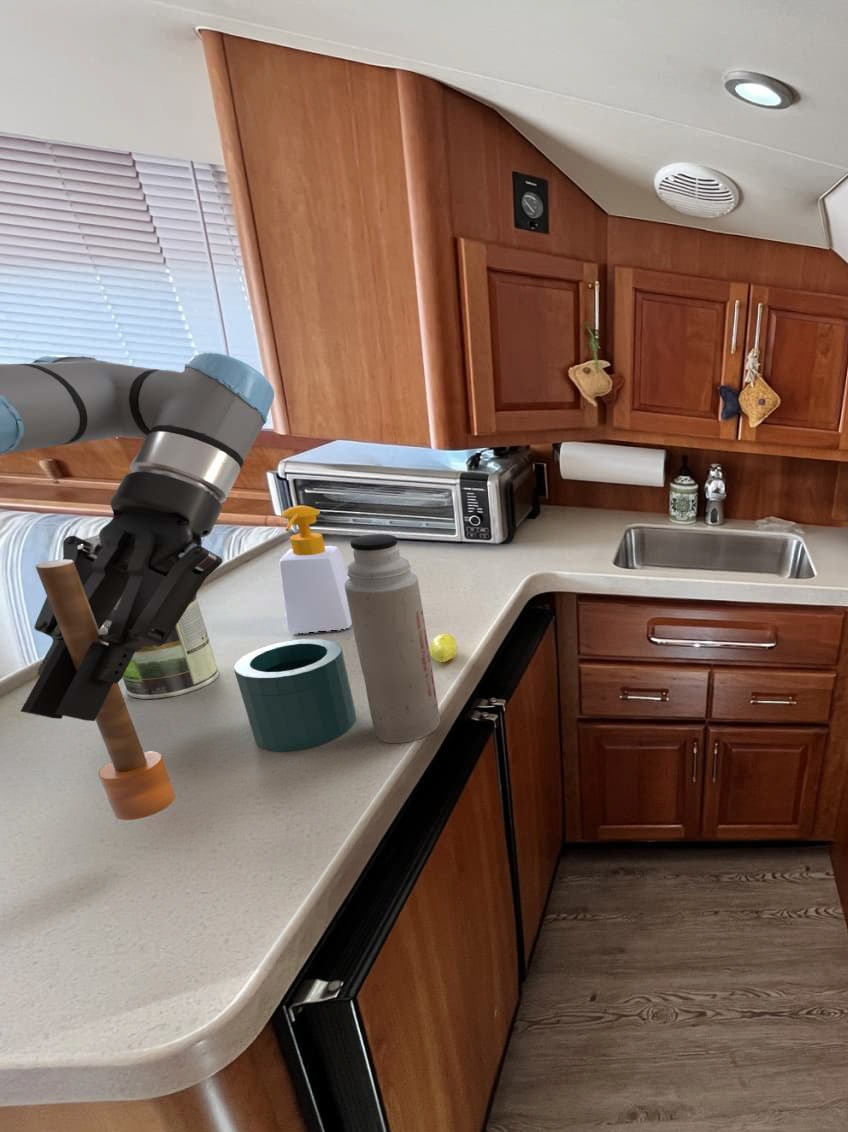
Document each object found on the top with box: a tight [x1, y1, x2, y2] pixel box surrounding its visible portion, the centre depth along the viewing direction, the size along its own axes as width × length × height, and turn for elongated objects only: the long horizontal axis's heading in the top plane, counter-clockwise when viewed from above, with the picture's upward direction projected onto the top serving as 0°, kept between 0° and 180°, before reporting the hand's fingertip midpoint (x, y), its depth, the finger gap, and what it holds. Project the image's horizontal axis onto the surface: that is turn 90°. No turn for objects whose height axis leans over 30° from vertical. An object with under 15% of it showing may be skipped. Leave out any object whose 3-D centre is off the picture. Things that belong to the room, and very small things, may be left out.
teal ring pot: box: [233, 638, 357, 752], centre depth 86 cm, size 11×11×11 cm
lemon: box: [429, 633, 459, 663], centre depth 108 cm, size 4×8×4 cm, turn 22°
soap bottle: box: [278, 505, 352, 635], centre depth 111 cm, size 10×14×22 cm
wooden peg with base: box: [35, 559, 177, 821], centre depth 59 cm, size 4×4×26 cm
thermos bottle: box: [345, 533, 441, 744], centre depth 84 cm, size 8×8×28 cm
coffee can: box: [103, 592, 220, 700], centre depth 93 cm, size 10×10×14 cm
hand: (58, 715), depth 56 cm, fingers closed on wooden peg with base, 2 cm apart
